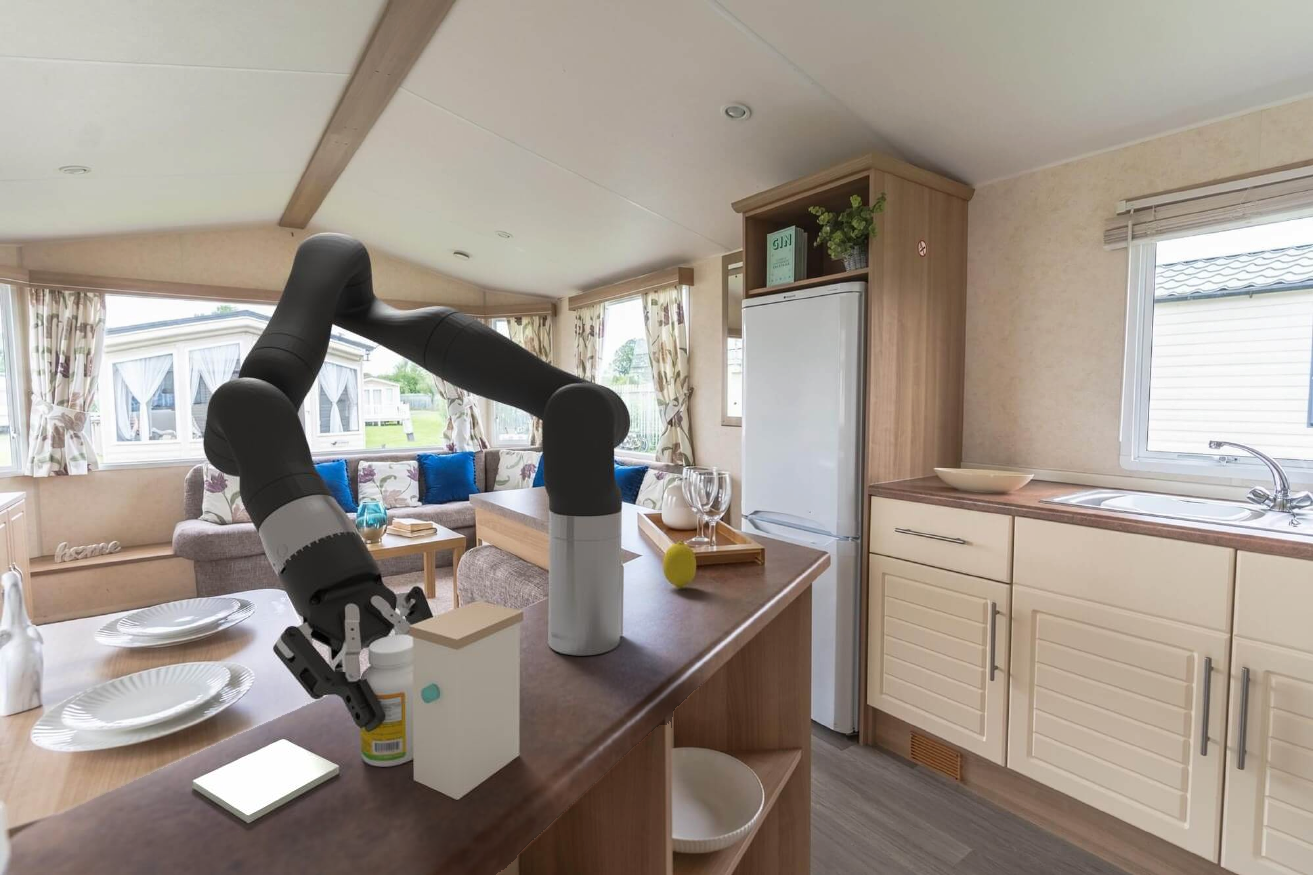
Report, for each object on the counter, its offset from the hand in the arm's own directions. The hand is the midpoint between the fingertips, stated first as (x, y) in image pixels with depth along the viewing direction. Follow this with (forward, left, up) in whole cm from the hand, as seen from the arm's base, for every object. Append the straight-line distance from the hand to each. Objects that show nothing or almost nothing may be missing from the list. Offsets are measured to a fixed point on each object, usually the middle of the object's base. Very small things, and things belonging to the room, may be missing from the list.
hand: (407, 708), depth 53 cm
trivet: (+8, -7, -4) cm, 11 cm away
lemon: (-56, -2, -5) cm, 56 cm away
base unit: (-2, +6, -4) cm, 7 cm away
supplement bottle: (0, -2, -4) cm, 5 cm away
